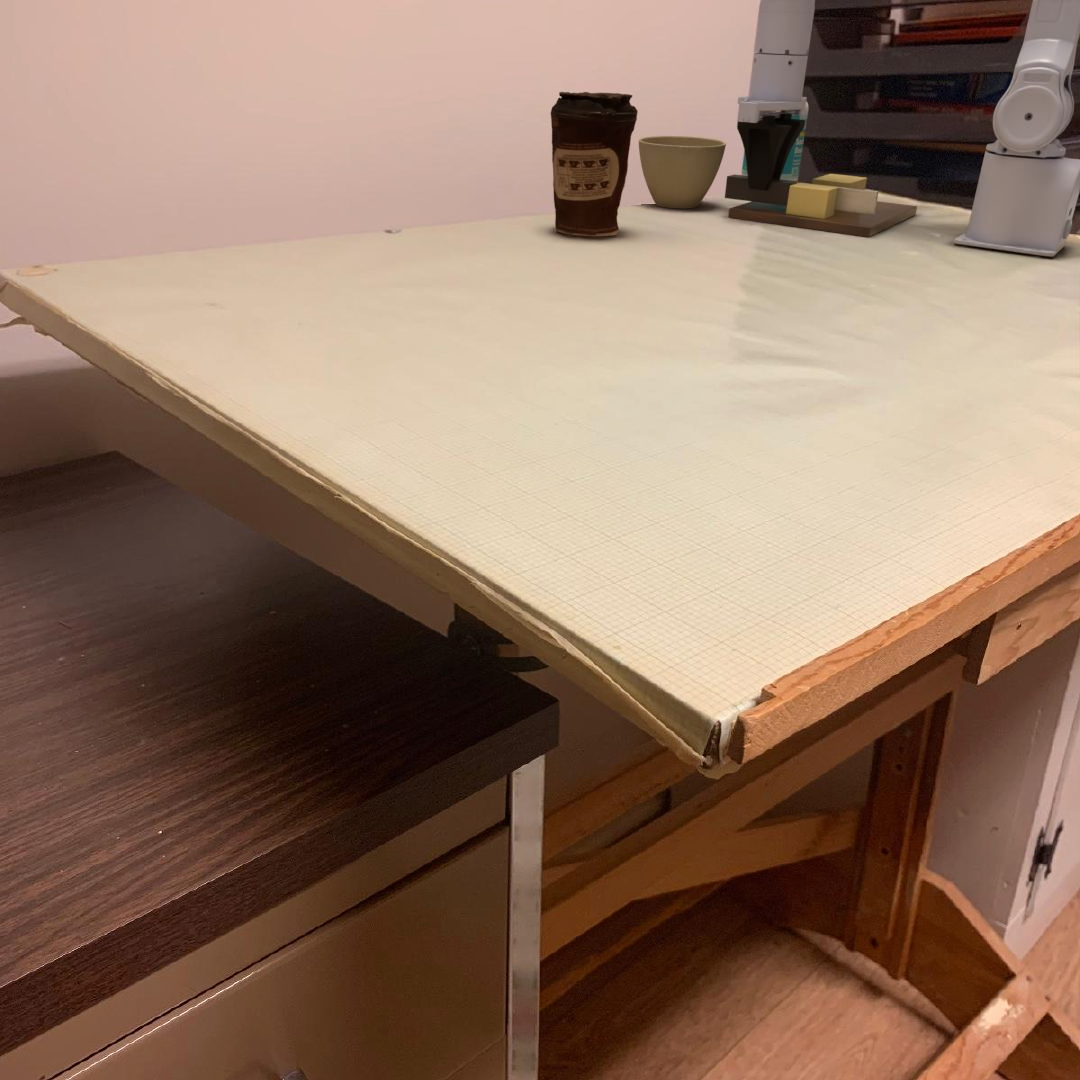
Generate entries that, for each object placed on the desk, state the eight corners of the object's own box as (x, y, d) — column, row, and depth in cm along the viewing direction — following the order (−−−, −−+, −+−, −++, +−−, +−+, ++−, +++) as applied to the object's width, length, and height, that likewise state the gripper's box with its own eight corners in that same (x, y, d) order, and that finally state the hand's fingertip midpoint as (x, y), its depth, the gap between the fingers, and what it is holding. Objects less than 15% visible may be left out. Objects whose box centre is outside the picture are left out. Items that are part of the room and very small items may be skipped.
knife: (876, 213, 107) (881, 190, 106) (871, 216, 105) (875, 192, 104) (731, 196, 115) (734, 174, 114) (724, 198, 114) (726, 176, 112)
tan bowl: (630, 196, 121) (635, 134, 118) (712, 199, 121) (719, 137, 118) (637, 211, 112) (642, 143, 109) (724, 214, 113) (732, 147, 109)
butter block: (862, 204, 116) (867, 177, 114) (845, 211, 111) (850, 183, 110) (826, 200, 118) (830, 173, 116) (808, 206, 113) (812, 178, 112)
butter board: (915, 214, 117) (917, 206, 116) (868, 237, 103) (870, 227, 103) (786, 198, 124) (788, 190, 124) (727, 217, 111) (729, 208, 110)
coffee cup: (622, 244, 96) (632, 97, 90) (538, 237, 97) (543, 93, 91) (632, 228, 103) (643, 92, 97) (554, 222, 105) (560, 87, 98)
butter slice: (833, 215, 108) (838, 187, 107) (824, 219, 106) (829, 190, 105) (795, 210, 110) (799, 182, 109) (785, 214, 108) (789, 185, 107)
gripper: (771, 51, 113) (754, 177, 119) (717, 52, 102) (703, 190, 108) (831, 55, 109) (811, 184, 116) (782, 56, 98) (763, 198, 105)
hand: (762, 188), depth 112 cm, fingers closed on knife, 2 cm apart
